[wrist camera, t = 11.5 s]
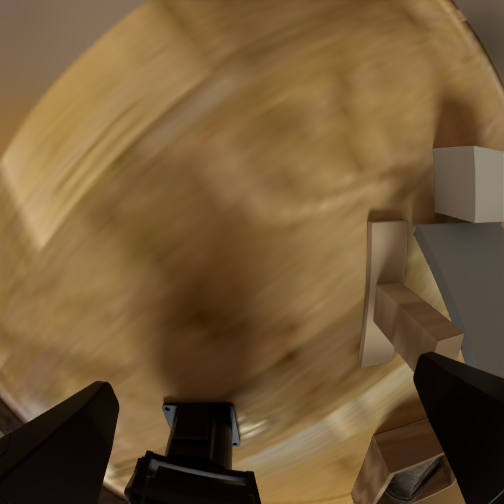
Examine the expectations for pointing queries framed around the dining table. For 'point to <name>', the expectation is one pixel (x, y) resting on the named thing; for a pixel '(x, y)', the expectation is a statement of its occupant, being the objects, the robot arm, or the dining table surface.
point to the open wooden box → (400, 462)
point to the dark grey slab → (470, 285)
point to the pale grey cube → (469, 183)
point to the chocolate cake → (413, 481)
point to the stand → (399, 305)
